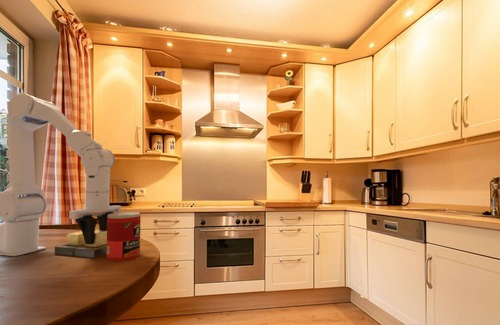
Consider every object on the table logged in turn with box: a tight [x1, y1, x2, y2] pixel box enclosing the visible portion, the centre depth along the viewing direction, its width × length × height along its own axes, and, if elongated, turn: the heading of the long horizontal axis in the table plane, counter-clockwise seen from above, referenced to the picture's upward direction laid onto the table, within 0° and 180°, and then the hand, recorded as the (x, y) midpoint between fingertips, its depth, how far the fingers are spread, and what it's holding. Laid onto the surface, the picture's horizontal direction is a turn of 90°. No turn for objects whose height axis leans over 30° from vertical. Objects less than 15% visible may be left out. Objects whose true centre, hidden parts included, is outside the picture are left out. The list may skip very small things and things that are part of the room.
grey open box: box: [54, 230, 107, 259], centre depth 72 cm, size 14×8×5 cm, turn 72°
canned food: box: [106, 211, 142, 262], centre depth 67 cm, size 8×8×11 cm
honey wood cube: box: [84, 229, 107, 249], centre depth 71 cm, size 4×4×5 cm
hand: (96, 241), depth 71 cm, fingers closed on honey wood cube, 4 cm apart
